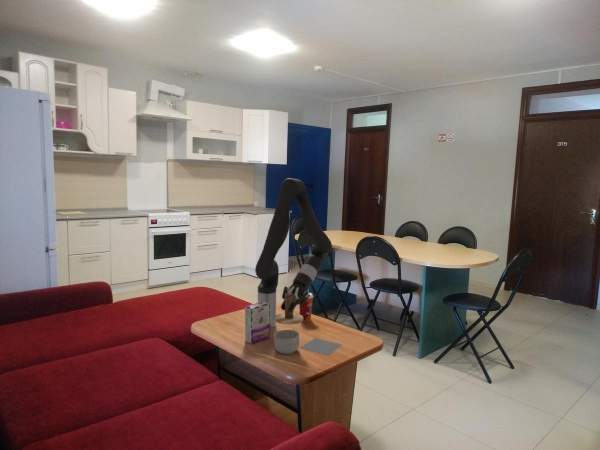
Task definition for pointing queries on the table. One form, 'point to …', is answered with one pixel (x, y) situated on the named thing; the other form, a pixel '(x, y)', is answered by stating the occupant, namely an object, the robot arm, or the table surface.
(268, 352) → the table surface
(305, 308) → the paper cup
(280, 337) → the teacup
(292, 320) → the oak lid
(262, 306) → the candy bar box
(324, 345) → the rubber mat
